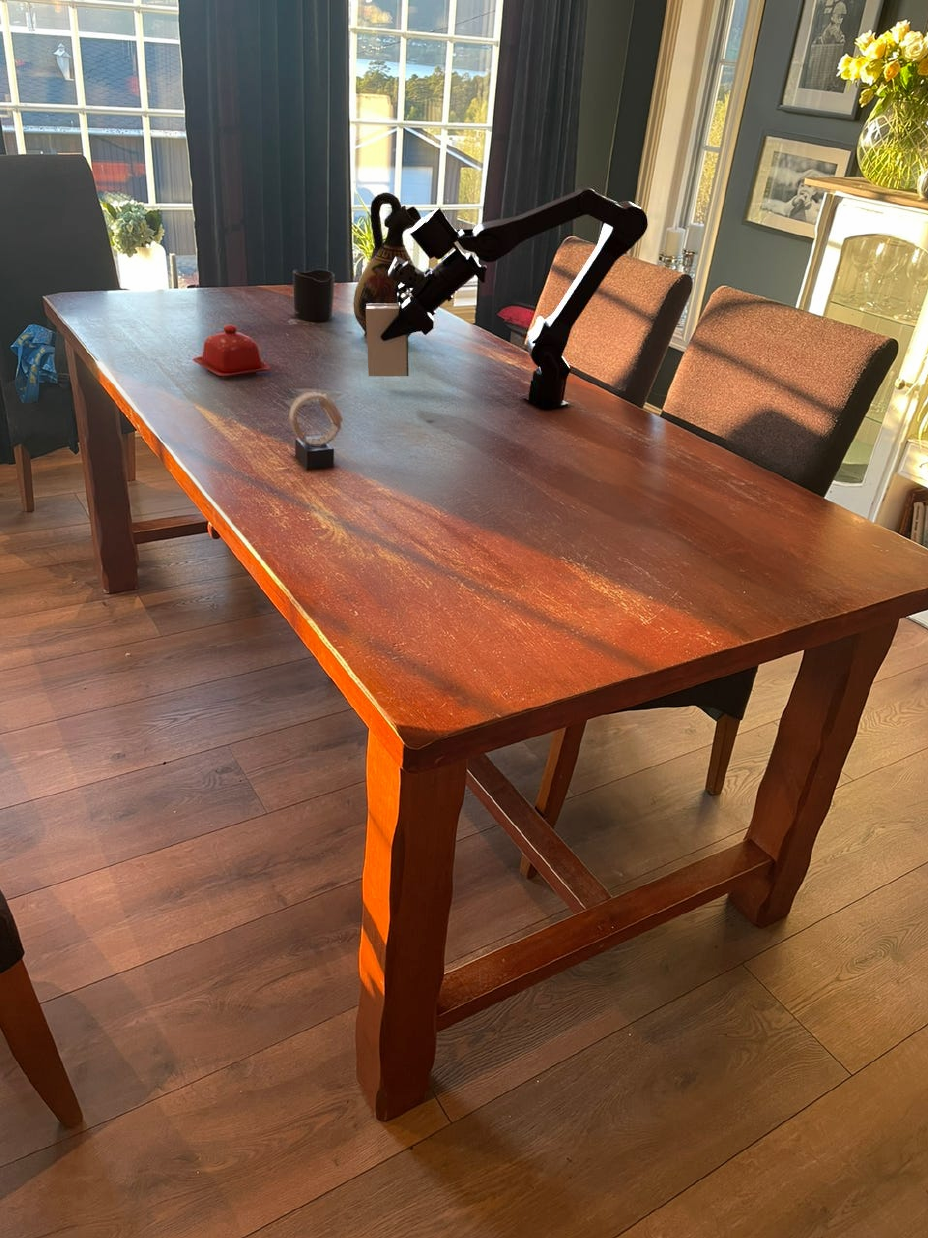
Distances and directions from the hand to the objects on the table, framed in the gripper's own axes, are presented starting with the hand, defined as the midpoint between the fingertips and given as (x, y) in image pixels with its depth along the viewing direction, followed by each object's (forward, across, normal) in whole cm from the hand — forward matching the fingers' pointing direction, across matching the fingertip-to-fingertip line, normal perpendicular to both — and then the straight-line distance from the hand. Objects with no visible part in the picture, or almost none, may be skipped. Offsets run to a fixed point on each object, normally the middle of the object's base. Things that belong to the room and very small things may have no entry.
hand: (381, 335), depth 173 cm
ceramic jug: (+6, -36, +9) cm, 37 cm away
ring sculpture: (+15, +37, 0) cm, 40 cm away
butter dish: (+27, -7, -13) cm, 31 cm away
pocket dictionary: (+4, 0, +6) cm, 7 cm away
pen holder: (+18, -51, -3) cm, 54 cm away
